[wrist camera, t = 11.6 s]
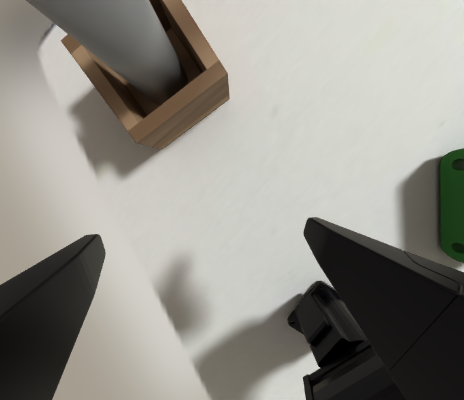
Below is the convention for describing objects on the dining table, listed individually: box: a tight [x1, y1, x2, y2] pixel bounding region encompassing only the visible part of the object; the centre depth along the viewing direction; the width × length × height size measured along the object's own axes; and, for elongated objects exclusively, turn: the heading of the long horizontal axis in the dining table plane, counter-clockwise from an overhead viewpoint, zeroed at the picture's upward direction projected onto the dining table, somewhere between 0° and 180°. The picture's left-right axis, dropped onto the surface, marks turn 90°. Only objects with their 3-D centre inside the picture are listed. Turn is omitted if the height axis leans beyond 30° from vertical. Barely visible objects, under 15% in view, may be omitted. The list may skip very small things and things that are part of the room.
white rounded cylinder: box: [26, 0, 188, 106], centre depth 11 cm, size 4×4×12 cm
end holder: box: [61, 0, 230, 149], centre depth 16 cm, size 8×8×5 cm
